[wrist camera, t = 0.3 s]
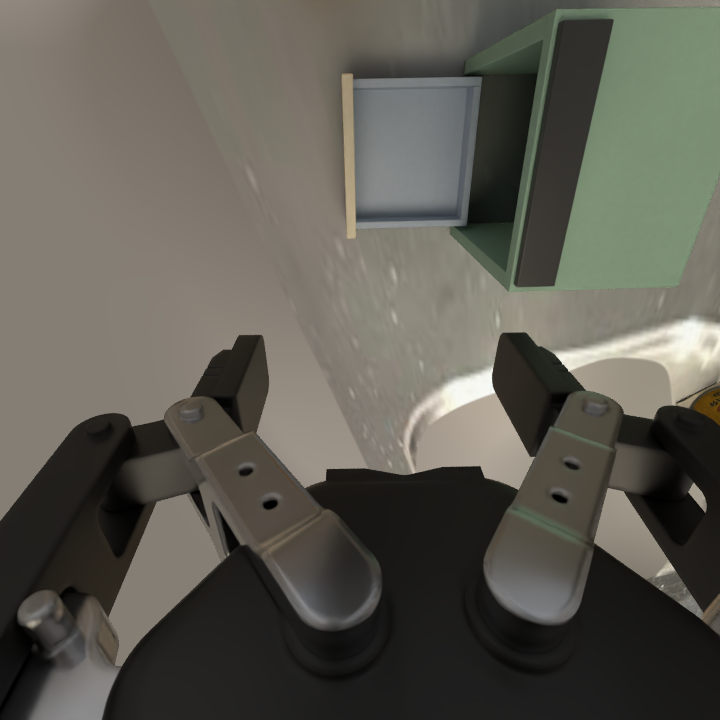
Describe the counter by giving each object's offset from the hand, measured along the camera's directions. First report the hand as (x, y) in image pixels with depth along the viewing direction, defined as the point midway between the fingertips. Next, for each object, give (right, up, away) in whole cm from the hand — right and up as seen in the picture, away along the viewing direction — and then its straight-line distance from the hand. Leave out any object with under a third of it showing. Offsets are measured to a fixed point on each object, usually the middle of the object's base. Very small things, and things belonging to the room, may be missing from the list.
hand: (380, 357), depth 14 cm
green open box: (+14, +19, +23) cm, 33 cm away
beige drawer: (+3, +18, +23) cm, 29 cm away
